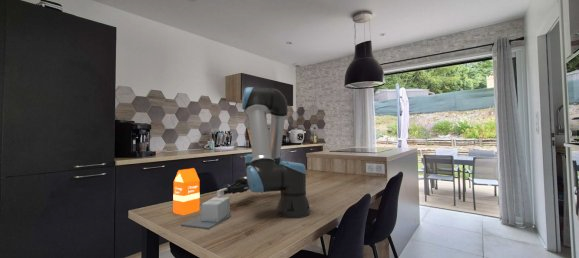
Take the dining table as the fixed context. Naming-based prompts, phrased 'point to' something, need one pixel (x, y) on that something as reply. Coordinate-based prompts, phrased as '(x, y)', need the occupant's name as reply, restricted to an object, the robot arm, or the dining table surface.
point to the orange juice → (186, 192)
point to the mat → (202, 223)
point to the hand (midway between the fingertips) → (218, 193)
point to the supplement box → (215, 209)
